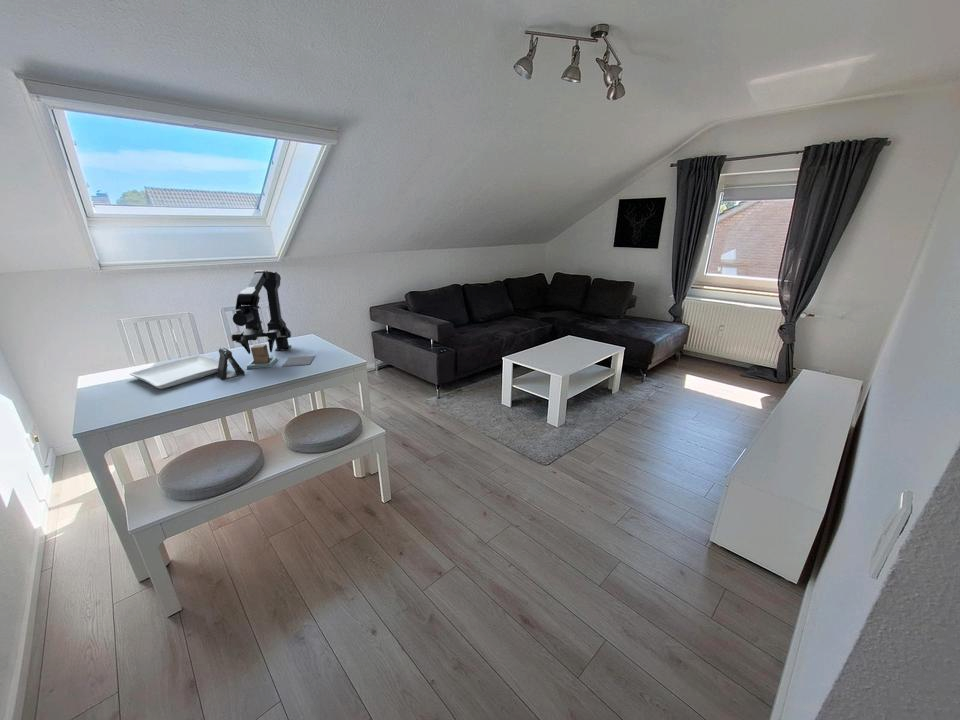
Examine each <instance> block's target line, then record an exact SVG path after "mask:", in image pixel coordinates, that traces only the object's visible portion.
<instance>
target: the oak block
mask: <svg viewBox="0 0 960 720" xmlns="http://www.w3.org/2000/svg"><path fill="white" fill-rule="evenodd" d="M250 352H251V354H252V360H253V359H254V364H266V363H269V362H270V358H269V357H270V354H269V351H268V345H267V343H261V344H253V345H252V346H251V347H250Z"/></svg>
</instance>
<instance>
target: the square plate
mask: <svg viewBox="0 0 960 720" xmlns="http://www.w3.org/2000/svg"><path fill="white" fill-rule="evenodd" d="M218 365H219V359H215V358H212V357H210V356H206V355H203V354H197V355H194V356H189V357H185V358H182V359H177V360H173V361H170V362H169V361H168V362H166V363H162V364H158V365H154V366H150V367H147V368H144V369H140V370H138V371H134V372H130V373H129V375H130V376H132V377H134V378H136V379H138V380H141V381H143V382H146V383H148V384H149V385H152V386H153V387H155V388H157V389H160V390H161V389H163V390H164V389H168V388H171V387H174V386H179V385H181V384H185V383H189V382H191V381H194V380H198V379H200V378H204V377H207V376H210V375H211V376H212V375H213V374H217V371H218ZM229 365H230V364H229V363H227V367H228V366H229Z"/></svg>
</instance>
